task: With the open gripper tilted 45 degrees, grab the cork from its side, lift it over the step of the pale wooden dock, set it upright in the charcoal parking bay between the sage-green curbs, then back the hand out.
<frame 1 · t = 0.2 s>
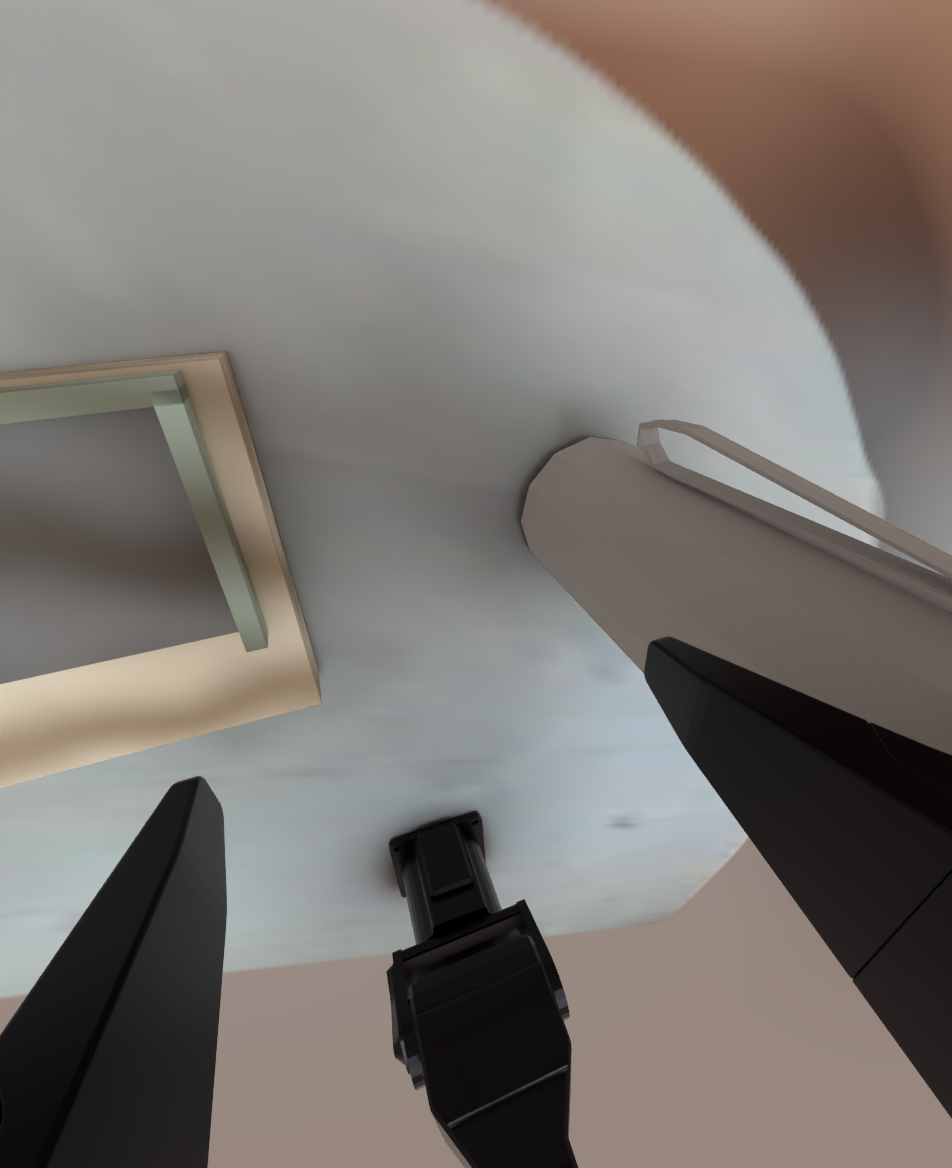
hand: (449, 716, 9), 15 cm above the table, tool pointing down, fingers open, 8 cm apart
water bottle: (578, 484, 26), on the table, touching gripper
dock: (113, 569, 20), on the table
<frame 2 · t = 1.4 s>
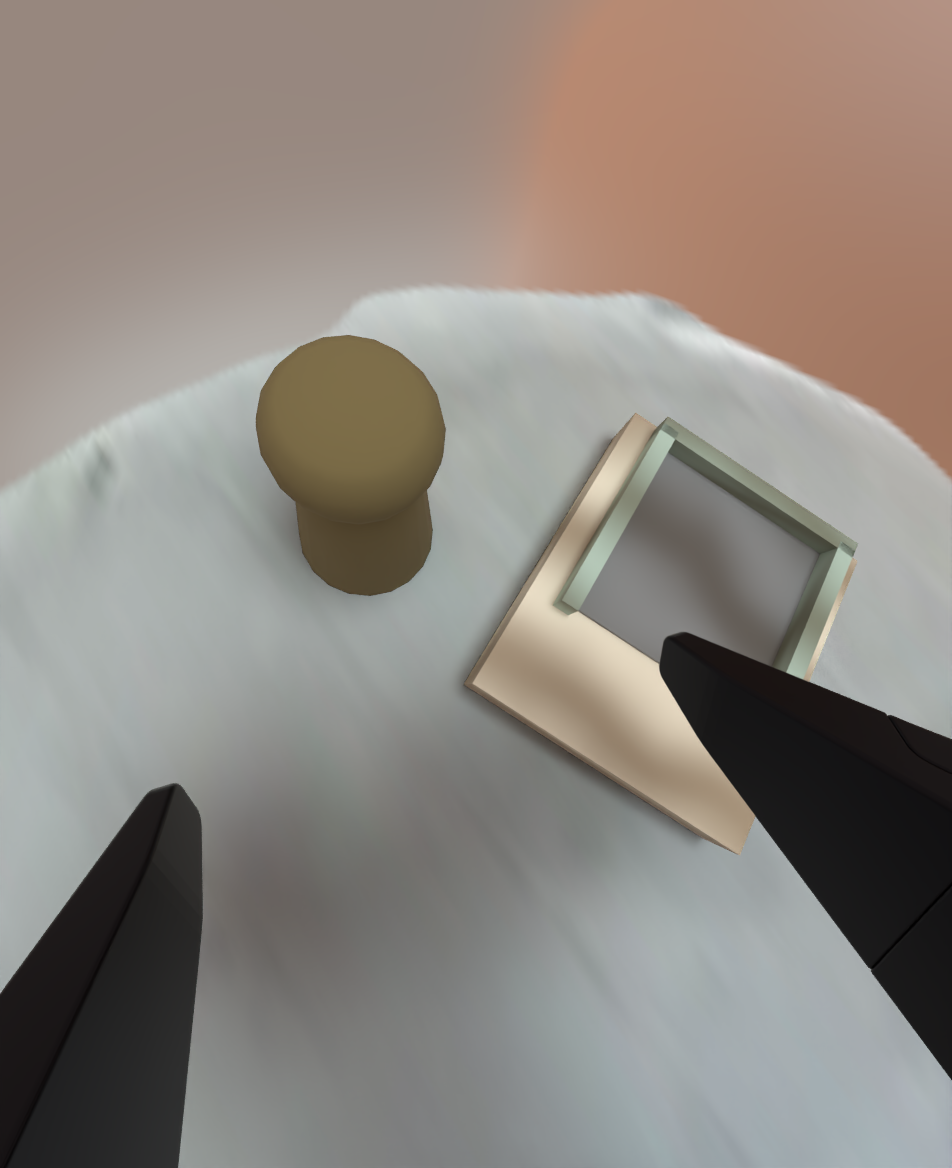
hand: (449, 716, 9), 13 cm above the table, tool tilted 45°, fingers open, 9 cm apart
cork: (367, 532, 24), on the table
dock: (654, 623, 25), on the table
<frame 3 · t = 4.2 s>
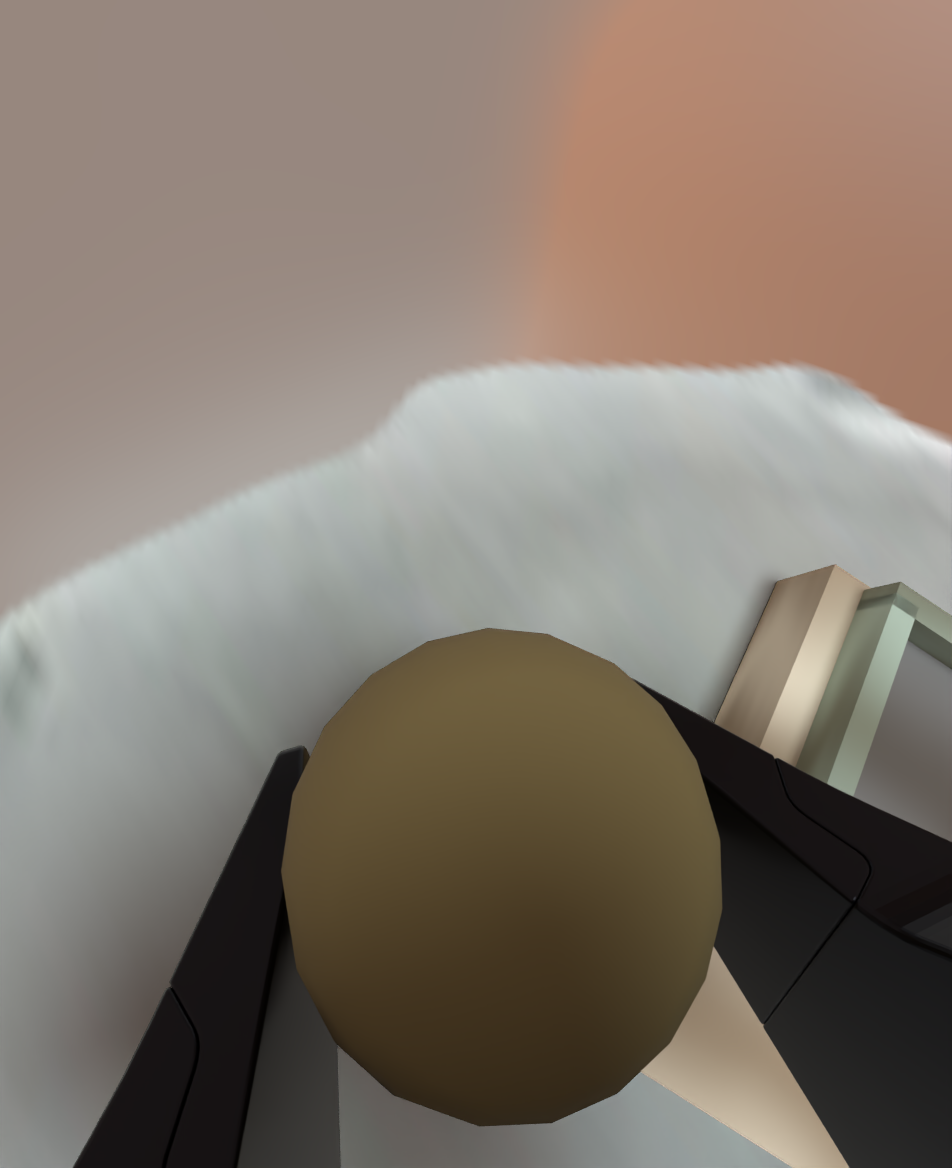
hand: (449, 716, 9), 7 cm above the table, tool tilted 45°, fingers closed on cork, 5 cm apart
cork: (435, 752, 16), on the table, touching gripper
dock: (857, 872, 17), on the table
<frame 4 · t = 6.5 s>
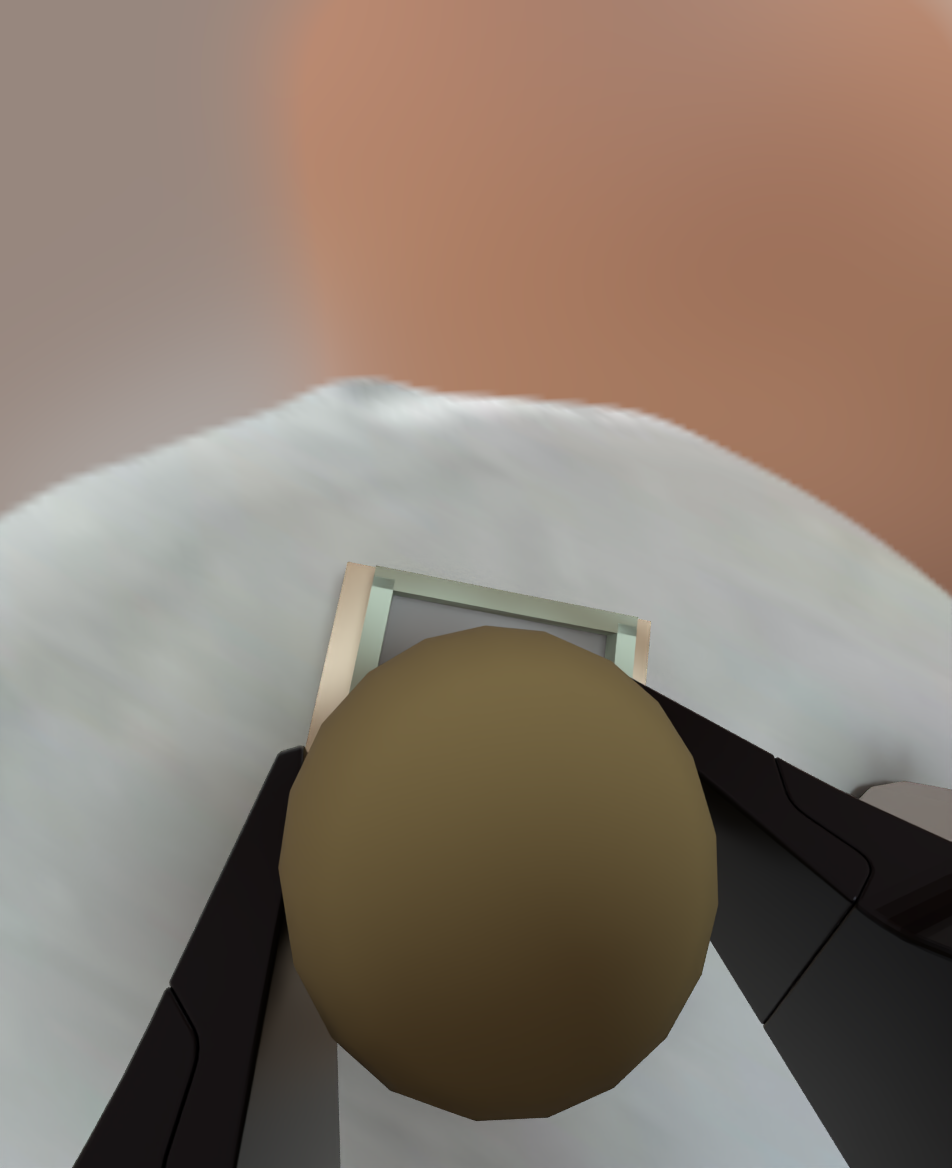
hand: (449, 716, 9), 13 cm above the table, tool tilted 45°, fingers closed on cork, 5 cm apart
cork: (433, 751, 16), point 6 cm above the table, touching gripper
water bottle: (886, 834, 25), on the table
dock: (466, 772, 22), on the table
when the fingers open (10 cm above the table, at t = 7.8 s): cork stays where it is, resting on dock.
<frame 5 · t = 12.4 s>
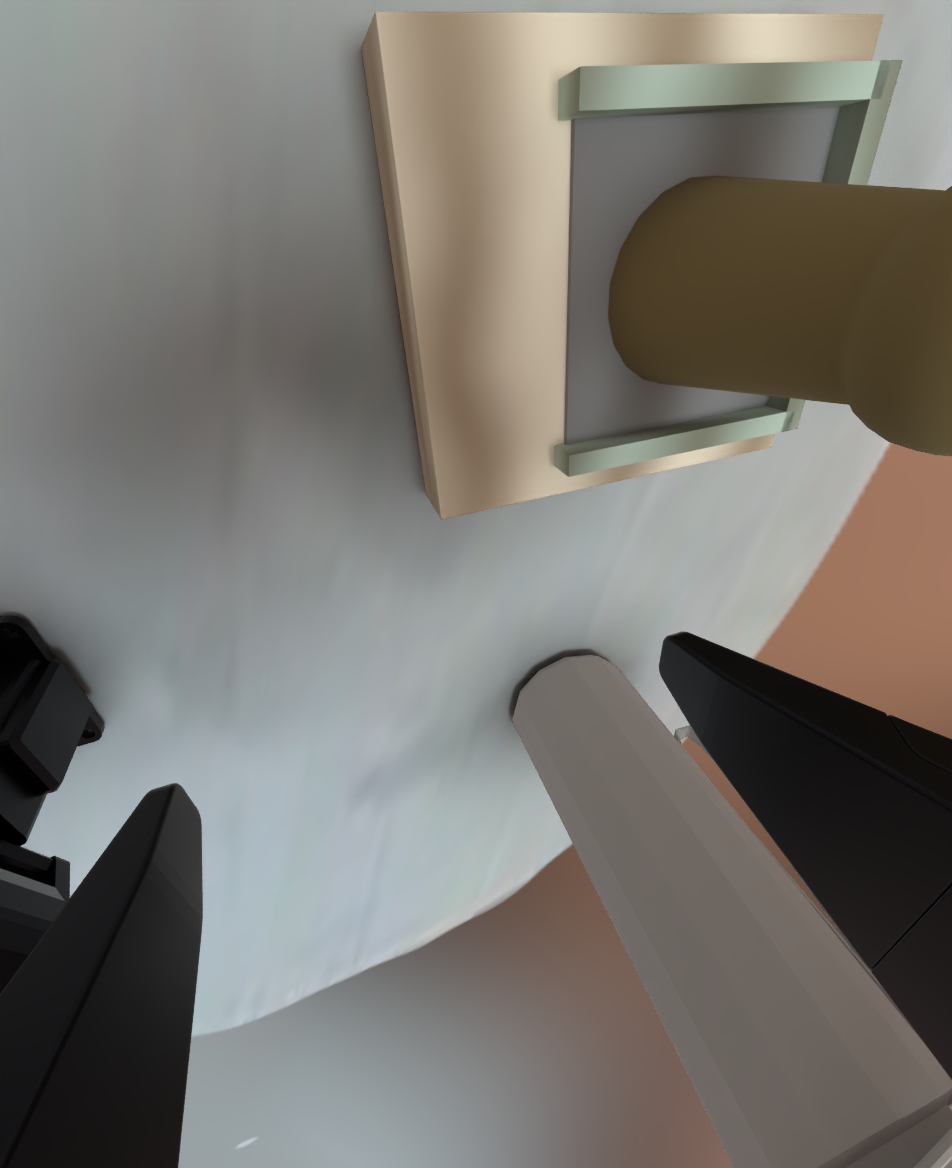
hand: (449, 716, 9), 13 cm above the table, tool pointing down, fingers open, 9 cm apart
cork: (683, 289, 17), point 3 cm above the table, touching dock
water bottle: (575, 687, 31), on the table
dock: (597, 293, 19), on the table
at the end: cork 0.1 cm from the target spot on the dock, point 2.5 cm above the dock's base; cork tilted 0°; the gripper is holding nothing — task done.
